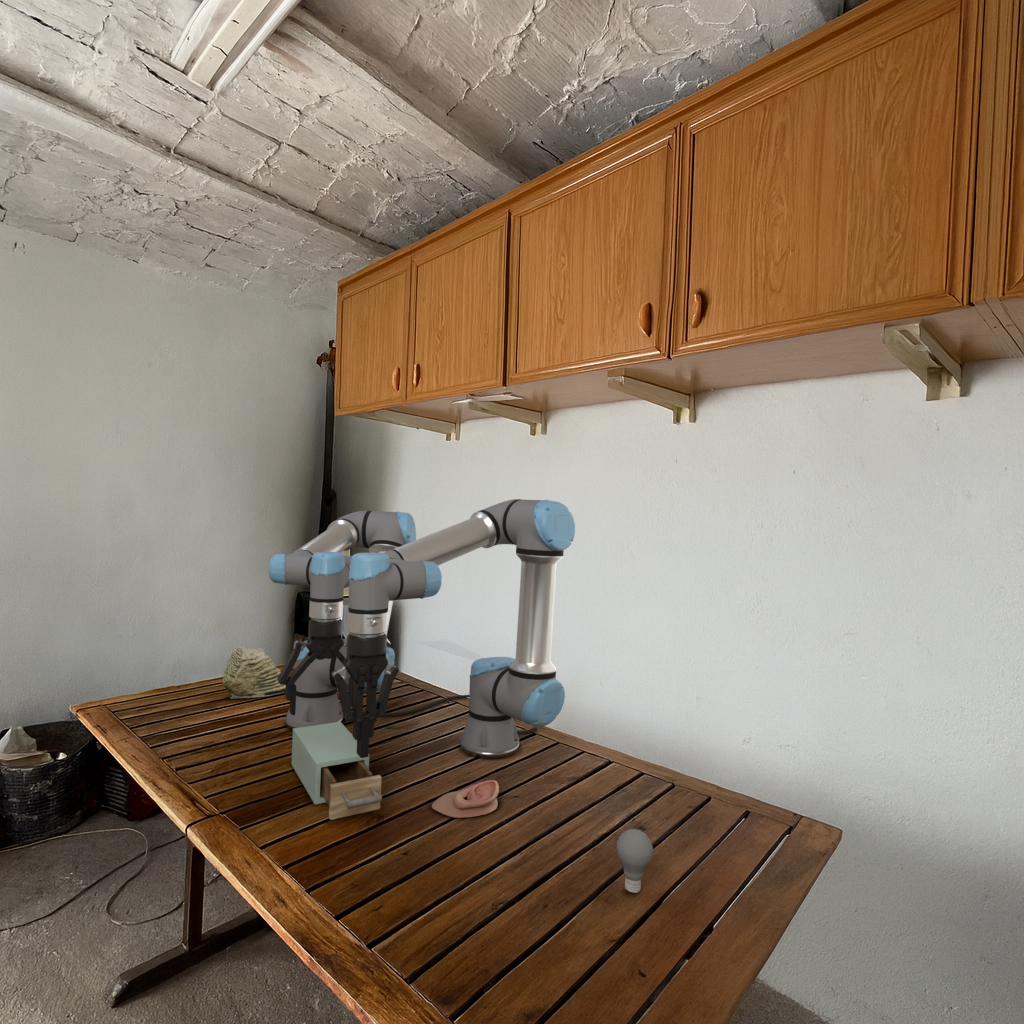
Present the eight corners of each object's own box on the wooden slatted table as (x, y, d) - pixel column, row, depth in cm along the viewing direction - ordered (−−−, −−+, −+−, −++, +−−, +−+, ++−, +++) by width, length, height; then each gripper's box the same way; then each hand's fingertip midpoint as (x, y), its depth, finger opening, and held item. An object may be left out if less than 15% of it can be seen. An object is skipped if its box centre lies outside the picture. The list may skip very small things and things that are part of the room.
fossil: (218, 695, 195) (220, 647, 195) (278, 685, 208) (279, 640, 207) (228, 703, 189) (230, 653, 188) (289, 692, 201) (290, 645, 201)
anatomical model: (427, 794, 128) (444, 771, 139) (426, 813, 128) (443, 788, 139) (490, 803, 125) (503, 779, 137) (489, 823, 126) (502, 797, 137)
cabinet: (367, 793, 136) (369, 754, 136) (314, 804, 130) (316, 763, 130) (339, 756, 155) (340, 721, 155) (291, 764, 149) (292, 728, 149)
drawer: (389, 821, 123) (391, 787, 123) (338, 833, 118) (339, 798, 118) (350, 769, 145) (351, 741, 145) (305, 778, 140) (306, 748, 140)
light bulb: (610, 879, 108) (613, 822, 108) (644, 879, 109) (647, 822, 109) (619, 902, 102) (622, 840, 102) (655, 901, 103) (658, 840, 103)
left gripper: (272, 625, 138) (269, 722, 138) (382, 618, 151) (379, 707, 151) (266, 618, 144) (262, 711, 144) (372, 612, 157) (369, 697, 157)
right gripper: (339, 640, 115) (334, 768, 116) (406, 634, 122) (401, 756, 123) (328, 631, 122) (323, 753, 122) (392, 627, 128) (387, 742, 129)
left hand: (322, 709), depth 148 cm, fingers open, 13 cm apart
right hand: (362, 754), depth 122 cm, fingers closed
